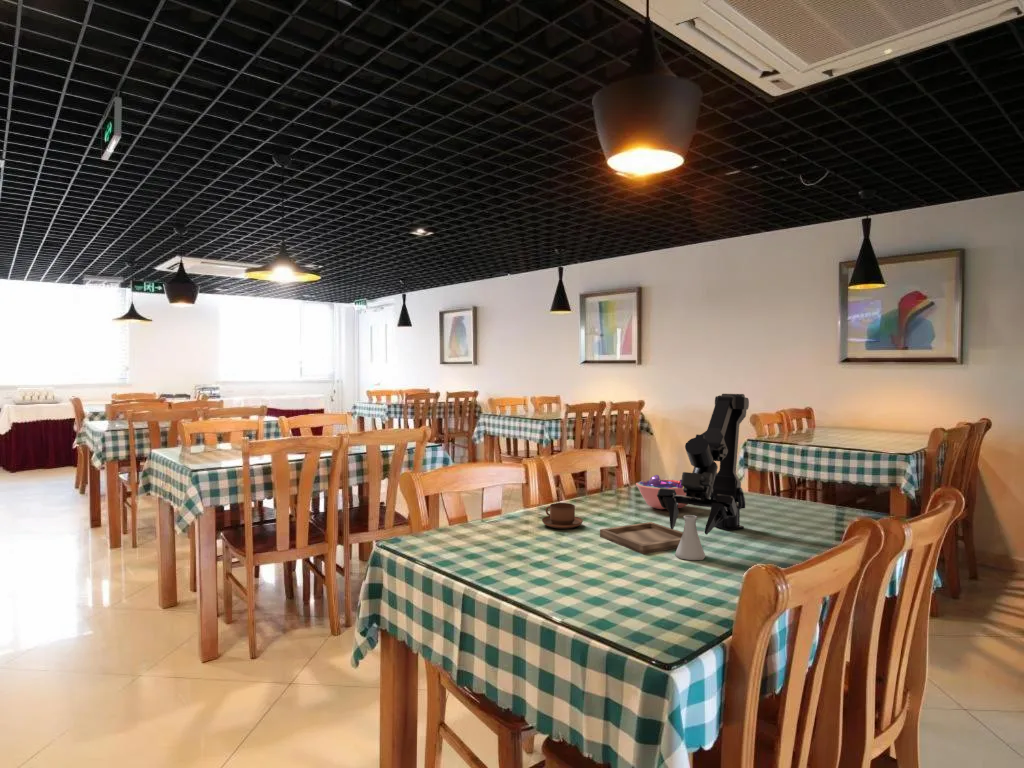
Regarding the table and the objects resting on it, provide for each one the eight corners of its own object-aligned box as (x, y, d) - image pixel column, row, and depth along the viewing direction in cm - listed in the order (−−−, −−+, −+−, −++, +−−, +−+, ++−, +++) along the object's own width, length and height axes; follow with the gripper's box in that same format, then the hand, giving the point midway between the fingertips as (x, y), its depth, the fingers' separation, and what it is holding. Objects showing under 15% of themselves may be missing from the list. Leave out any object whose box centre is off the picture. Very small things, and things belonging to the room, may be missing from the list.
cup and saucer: (536, 529, 175) (536, 508, 175) (549, 519, 186) (549, 499, 186) (576, 533, 170) (576, 511, 170) (587, 523, 181) (587, 503, 181)
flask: (707, 562, 144) (707, 520, 144) (675, 560, 145) (676, 519, 145) (703, 553, 151) (704, 513, 151) (674, 551, 152) (674, 512, 152)
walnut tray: (651, 528, 174) (651, 521, 174) (696, 544, 158) (696, 536, 158) (600, 536, 166) (600, 529, 166) (642, 554, 150) (642, 546, 150)
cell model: (704, 514, 192) (704, 479, 192) (641, 514, 192) (641, 479, 192) (689, 503, 209) (689, 470, 209) (631, 503, 209) (632, 470, 209)
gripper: (659, 456, 156) (643, 507, 147) (734, 462, 146) (720, 517, 137) (670, 482, 163) (654, 532, 154) (742, 490, 152) (730, 543, 143)
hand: (688, 530), depth 147 cm, fingers open, 8 cm apart
